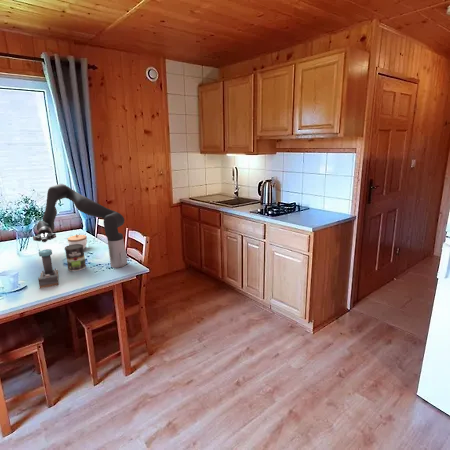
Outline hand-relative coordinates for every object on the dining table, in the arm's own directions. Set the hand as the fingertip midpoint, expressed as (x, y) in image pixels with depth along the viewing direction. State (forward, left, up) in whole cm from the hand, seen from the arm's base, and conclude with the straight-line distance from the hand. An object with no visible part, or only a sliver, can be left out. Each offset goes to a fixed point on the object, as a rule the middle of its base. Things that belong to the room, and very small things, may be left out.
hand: (44, 240), depth 188 cm
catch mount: (-8, +9, -20) cm, 23 cm away
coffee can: (-12, -9, -20) cm, 25 cm away
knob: (-4, +5, -18) cm, 20 cm away
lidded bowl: (+10, -40, -20) cm, 46 cm away
